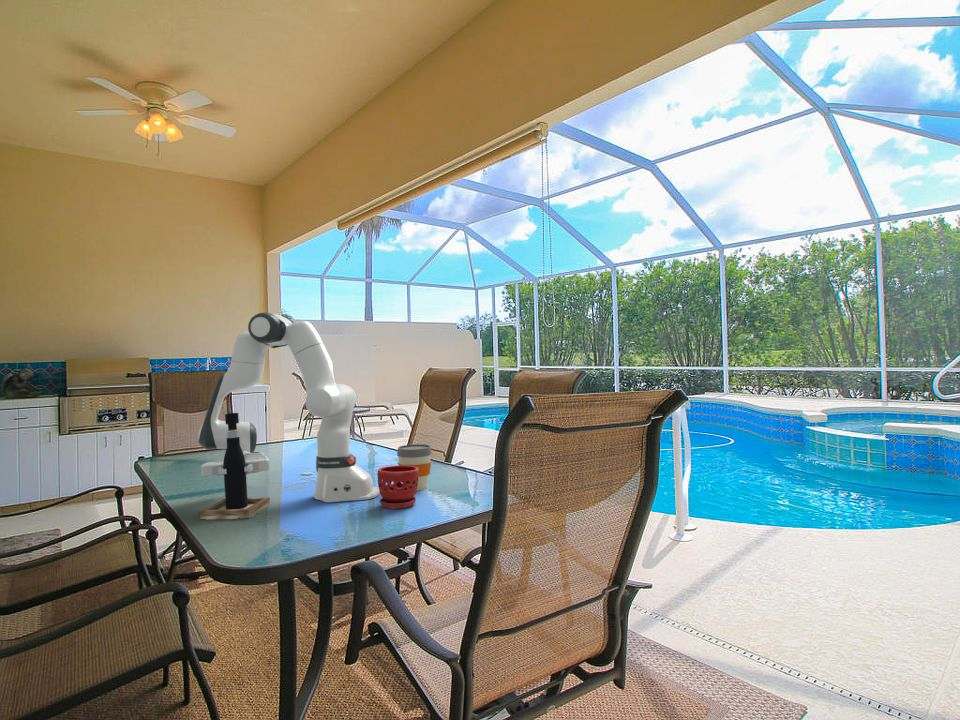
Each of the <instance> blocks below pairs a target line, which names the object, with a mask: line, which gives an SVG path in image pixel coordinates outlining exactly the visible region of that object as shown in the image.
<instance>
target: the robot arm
mask: <svg viewBox="0 0 960 720" xmlns="http://www.w3.org/2000/svg"><path fill="white" fill-rule="evenodd" d="M286 346H288V348H289V350H290V351H291V353H292V355H293V358H294V360H295V362H296V364H297V366H298V368H299V370H300V371H299V372H301V376H302V378H303V382H304V386H305V392H306V397H305V407H306V410H307V411H308V412H309V413H310V414H311V415H313V416H315V417H320V418H321V423H320V426H319V428H318V431H317V434H316V448H317V449H316V450H317V452H316V456H315V457H316V458H315V469H316V470H315V471H316V482H315V483H316V484H315V490H314V494H313V499H315V500H319V501H321V502H323V503H335V502H350V501H351V502H352V501H365V500H370V499H371V500H372V499H374V498H376V497H377V496H378V495H379V494H380V491H379V487H378V486H377V487H376V486H374V482H373V478H372V476H371V474H370V473H369V472H367V471H366V470H364V469H363V468H362V467H360V466H359V465H357V455H353V454H352V453H351V442H350V441H351V439H350V438H351V437H350V436H351V435H350V433H351V432H350V431H351V424H352V418H353V414H354V407H355V405H356V403H357V394H356V391H355V390H354V388H352V387H351V386H350V385H347V384H344V383H336V379H335V375H334V370H333V369H334V362H333V360H332V358H331V356H330V354H329V352H328V349H327V348H326V345H325V344H324V341H323V340H322V337H321V336H320V334H319V332H318V331H317V329H316V328H315V326H314V325H313V324H312V323H311V322H310V321H308V320H297V321H295V322H294V321H293V320H292V319H290V318H288V317H285V316H282V315H280V314H276V313H271V312H259V313H257V314H255V315H253V316H252V317H251V318H250V320H249V322H248V326H247V331H241V333H239V334H238V335H237V336H236V339H235V341H234V344H233V349H232V353H231V361H230V363H229V364H230V365H229V368H228V369H227V370H226V372H225V373H223V374H221V375H219V377H218V379H217V381H216V383H215V386H214V390H213V392H212V395H211V399H210V401H209V405H208V407H207V411H206V415H205V418H204V420H203V422H202V424H201V426H200V427H199V429H198V433H197V441H198V444H199V445H200V446H202V448H204V449H205V450H218V449H219V450H220V449H222V450H223V449H224V450H226V449H227V438H228V437H227V436H228V435H227V434H228V432H231V431H228V424H226V423H225V420H220V419H219V415H220V412H221V409H222V406H223V403H224V399H225V398H226V397H227V396H228V395H229V394H231V393H233V392H236V391H238V390H242V389H247V388H250V387H252V386H255V385H257V384H259V382H260V381H261V380H262V378H263V376H264V371H265V365H266V364H265V363H266V355H267V352H268V351H269V349H270V348H272V349H275V348H276V349H277V348H281V347H283V348H284V347H286ZM234 431H238V437H239V438H240V447H241V449H242V451H243V454H244V457H245V464H246V466H244V473H246V476H247V475H250V474H254V473H261V472H266V471H269V470H270V458H269V457H268V456H267V455H265V454H264V452H259V451H256V447H257V439H258V435H257V428H256V427H255V425H254V424H253V423H252V422H250V421H239V423H237V430H234ZM224 456H225V454H224ZM224 456H223V458H222V460H219V461H208V462H205V463H203V464H202V465H201V466H200V475H201V477H203V478H207V477H215V476H224V475H226V474H227V472H226V471H227V469H225V468H224V467H223V462H224Z"/></svg>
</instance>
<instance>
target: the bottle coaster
mask: <svg viewBox="0 0 960 720" xmlns="http://www.w3.org/2000/svg"><path fill="white" fill-rule="evenodd" d="M247 500H248V506H247V507H244V508H241V509H226V503H225V498H223V499H220V500H219V501H217V502H215V503H213V504H212V505H209V506H208V507H206V508H204V509H201V510H200V511H199V520H200V519H206V520H237V519H238V518H241V519H242V518H249V519H251V518H252V517H254V516H255V515H257V514H258V513H260V512H262V511H263V510H265V509H266V508H268V507H269V506H270V505H271V498H270V497H247ZM267 506H268V507H267ZM264 508H265V509H264ZM262 509H263V510H262ZM261 510H262V511H261ZM259 511H260V512H259ZM256 513H257V514H256ZM253 515H254V516H253ZM250 517H251V518H250ZM241 519H240V520H241ZM238 520H239V519H238Z"/></svg>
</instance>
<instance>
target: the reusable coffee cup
mask: <svg viewBox="0 0 960 720" xmlns="http://www.w3.org/2000/svg"><path fill="white" fill-rule="evenodd" d="M432 454H433V453H432V447H431V445H430V444H422V443H421V444H420V443H419V444H418V443H416V444H405V445H401V446H398V447H397V454H396V455H397V458H398V463H397V464H398V465H397V466H414V467H417V468H418V469H419V478H418V487H417V491H416V492H418V491H423V490H427V489H428V485H429V477H430V474H431V467H432V461H431V455H432ZM401 483H402V482H401ZM402 484H403V483H402Z"/></svg>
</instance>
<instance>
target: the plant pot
mask: <svg viewBox="0 0 960 720" xmlns="http://www.w3.org/2000/svg"><path fill="white" fill-rule="evenodd" d="M418 478H419V469H418V468H417V467H414V466H398V465H388V466H382V467H380V468H378V469H377V485H378V486H377V488H379V491H380V493H379V494H380V496H381V498H380V499H379V503H380V505H381V506H382V507H384V508H386V509H387V508H388V509H390V510H392V509H405V508H408V507H411V506H413V505H414V504H416V501H417V498H416V497H415V495H416V494H417V492H418V491H417V487H418ZM392 482H393V483H392ZM402 483H403V484H402Z"/></svg>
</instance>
